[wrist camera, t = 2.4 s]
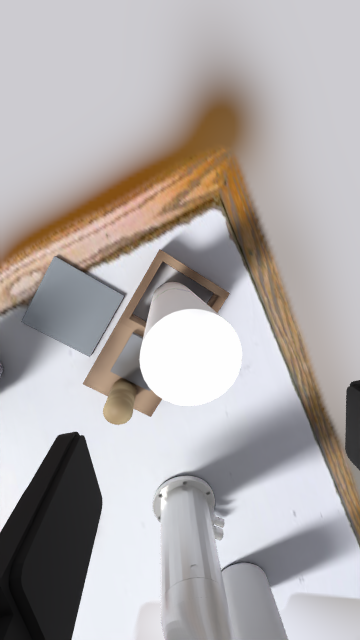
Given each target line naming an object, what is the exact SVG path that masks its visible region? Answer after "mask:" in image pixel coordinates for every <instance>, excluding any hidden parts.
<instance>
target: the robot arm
mask: <svg viewBox="0 0 360 640" xmlns="http://www.w3.org/2000/svg"><path fill="white" fill-rule="evenodd" d="M346 399H347V400H346V443H345V444H346V445H345V449H346V454H347V456H348V458H349V459H350V460H351V461H352V463H353V464H354V465H355V466H356V467H357V468H358V469H359V470H360V380H359V381H353V382H351V384H350V387H348V388H347V395H346ZM214 506H215V498H214V494H213V490H212V489H211V487H210V486H209V485H208V483H206V482H205V481H204V480H202V479H200V478H198V477H194V476H179V477H175V478H172V479H170V480H168V481H166V482H165V483H163V484H162V485H161V486H160V487H159V488H158V490H157V491H156V493H155V495H154V499H153V512H154V515H155V517H156V518H157V520H158V521H159V522H160V523H161V624H162V630H163V634H164V638H165V640H236V639H235V635H234V631H233V626H232V622H231V617H230V612H229V607H228V602H227V597H226V592H225V587H224V582H223V577H222V572H221V567H220V562H219V557H218V552H217V547H216V542H215V539H217V540H222V538H223V530H222V529H221V528H219V527H222V528H223V526H224V520H223V519H221V518H219V517H215V515H214V512H213V509H214ZM101 510H102V495H101V492H100V488H99V485H98V481H97V478H96V475H95V471H94V468H93V464H92V461H91V457H90V454H89V450H88V447H87V444H86V440H85V437H84V436H83V435H81V436H80V435H79V433H78V432H72V433H66V434H61V435H58V437H57V438H56V440H55V441H54V443H53V445H52V446H51V448H50V450H49V452H48V453H47V455H46V457H45V458H44V460H43V462H42V464H41V465H40V467H39V469H38V470H37V472H36V474H35V476H34V477H33V479H32V481H31V482H30V484H29V486H28V488H27V489H26V490H25V492H24V493H23V495H22V497H21V498H20V500H19V502H18V503H17V505H16V507H15V509H14V510H13V512H12V514H11V515H10V517H9V519H8V520H7V522H6V524H5V526H4V527H3V529H2V531H1V532H0V640H71V639H72V635H73V630H74V626H75V622H76V617H77V613H78V609H79V605H80V600H81V596H82V592H83V587H84V583H85V579H86V575H87V570H88V566H89V562H90V558H91V553H92V549H93V545H94V540H95V536H96V532H97V528H98V523H99V519H100V515H101ZM214 524H215V525H217V526H219V527H217V526H213V525H214Z"/></svg>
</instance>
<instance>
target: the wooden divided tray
mask: <svg viewBox="0 0 360 640" xmlns="http://www.w3.org/2000/svg"><path fill="white" fill-rule="evenodd" d="M162 261H163V262H164V263H166V264H168V265H169V266H171V267H173V268H174V269H176V270H177V271H179V272H181V273H182V274H184V275H185V276H187V277H189V278H190V279H192V280H193V281H195V282H197V283H198V284H200V285H202V286H203V287H205V288H206V289H208V290H210V291H211V292H213V295H212V296H211V298H210V300H209V301H208V303H207V305H208V306H210V307H211V308H212V309H213V310H214V311H215V312H216V313H218V311H219V309H220V308H221V306H222V305H223V303H224V302H225V300H226V299H227V297H228V295H229V294H230V293H229V292H227V291H225V290H224V289H222V288H221V287H219V286H217V285H216V284H214V283H213V282H211V281H210V280H208V279H206V278H205V277H203V276H202V275H200V274H198V273H197V272H195V271H194V270H192V269H190V268H189V267H187V266H186V265H184V264H183V263H181V262H179V261H178V260H176V259H175V258H173V257H171V256H170V255H168V254H167V253H165V252H163V251H162V250H159V251H158V253H157V255H156V257H155V258H154V260H153V262H152V264H151V265H150V267H149V269H148V271H147V272H146V274H145V276H144V278H143V279H142V281H141V283H140V285H139V286H138V288H137V290H136V292H135V293H134V295H133V297H132V299H131V300H130V302H129V304H128V306H127V307H126V309H125V311H124V313H123V314H122V316H121V318H120V320H119V321H118V323H117V325H116V326H115V328H114V330H113V332H112V333H111V335H110V337H109V339H108V340H107V342H106V344H105V346H104V347H103V349H102V351H101V353H100V354H99V356H98V358H97V360H96V361H95V363H94V365H93V367H92V368H91V370H90V372H89V374H88V375H87V377H86V379H85V381H84V382H83V384H84V385H86V386H88V387H90V388H92V389H94V390H96V391H98V392H100V393H102V394H104V395H106V396H108V398H107V401H106V403H105V406H104V409H103V414H104V417H105V419H106V420H107V421H108V422H110V423H112V424H116V425H119V424H124V423H126V422H127V421H129V420H130V418H131V417H132V413H133V409H136V410H138V411H140V412H142V413H144V414H146V415H148V416H150V417H151V416H152V414H153V412H154V411H155V409H156V408H157V406H158V405H159V403H160V402H161V400H162V398H160V397H159V396H158V395H156V394H155V393H154V392H153V391H152V390H151V389H150V388H149V387H148V385H147V383H146V382H145V380H144V378H143V375H142V372H141V369H140V360H139V359H140V350H141V345H142V341H143V337H144V332H145V328H146V323H147V322H146V321H144V320H143V319H141V318H139V317H137V316H136V315H134V314H132V313H133V311H134V310H135V308H136V306H137V305H138V303H139V301H140V299H141V298H142V296H143V294H144V292H145V291H146V289H147V287H148V286H149V284H150V282H151V280H152V279H153V277H154V275H155V273H156V272H157V270H158V268H159V267H160V265H161V263H162Z"/></svg>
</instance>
